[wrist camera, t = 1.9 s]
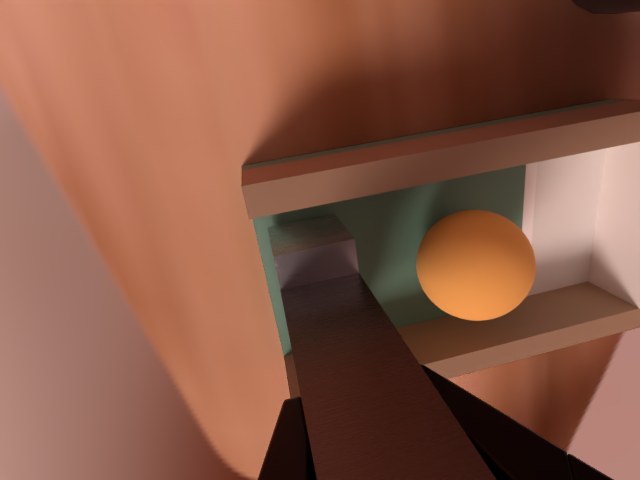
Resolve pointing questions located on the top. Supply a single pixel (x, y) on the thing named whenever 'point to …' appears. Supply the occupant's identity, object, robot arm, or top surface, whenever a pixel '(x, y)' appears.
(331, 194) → the pitch
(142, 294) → the top surface
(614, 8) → the coffee cup
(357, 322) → the block
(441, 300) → the ball
